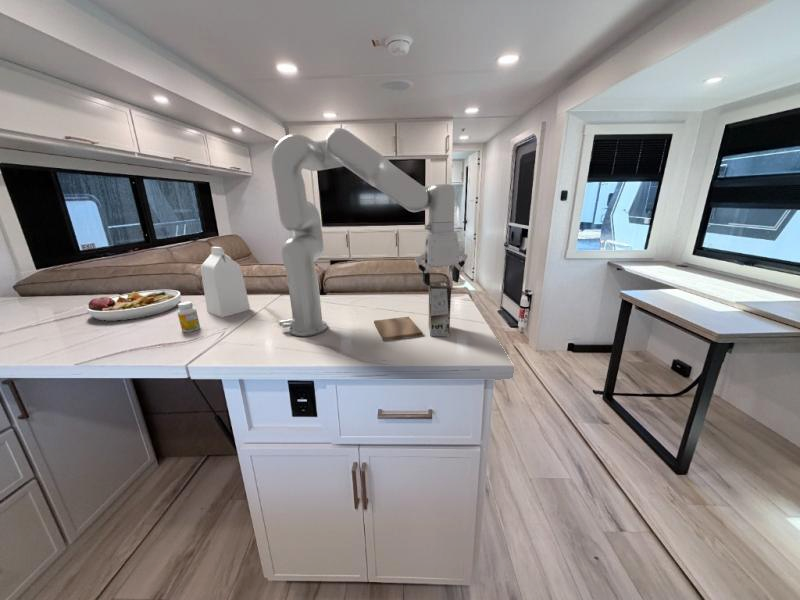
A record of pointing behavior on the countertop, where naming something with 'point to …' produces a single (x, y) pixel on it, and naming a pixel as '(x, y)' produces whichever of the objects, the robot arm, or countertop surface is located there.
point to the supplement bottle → (188, 317)
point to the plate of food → (133, 305)
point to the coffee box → (439, 308)
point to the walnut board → (397, 328)
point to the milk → (223, 284)
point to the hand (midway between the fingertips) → (441, 283)
